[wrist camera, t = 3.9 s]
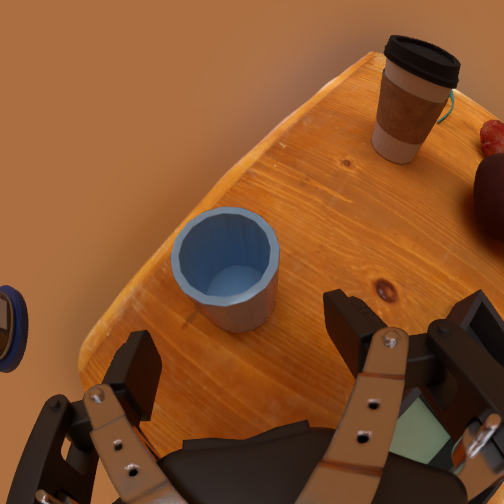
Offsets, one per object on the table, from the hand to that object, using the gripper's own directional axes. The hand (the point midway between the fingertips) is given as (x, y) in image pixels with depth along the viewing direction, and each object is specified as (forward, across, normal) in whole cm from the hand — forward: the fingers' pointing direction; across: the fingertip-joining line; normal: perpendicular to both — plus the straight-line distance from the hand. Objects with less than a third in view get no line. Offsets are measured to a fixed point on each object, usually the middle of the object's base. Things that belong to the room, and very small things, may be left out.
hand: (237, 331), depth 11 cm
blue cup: (+10, 0, +3) cm, 10 cm away
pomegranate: (+18, -44, -5) cm, 48 cm away
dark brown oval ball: (+10, -32, +3) cm, 34 cm away
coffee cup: (+20, -22, -6) cm, 30 cm away
